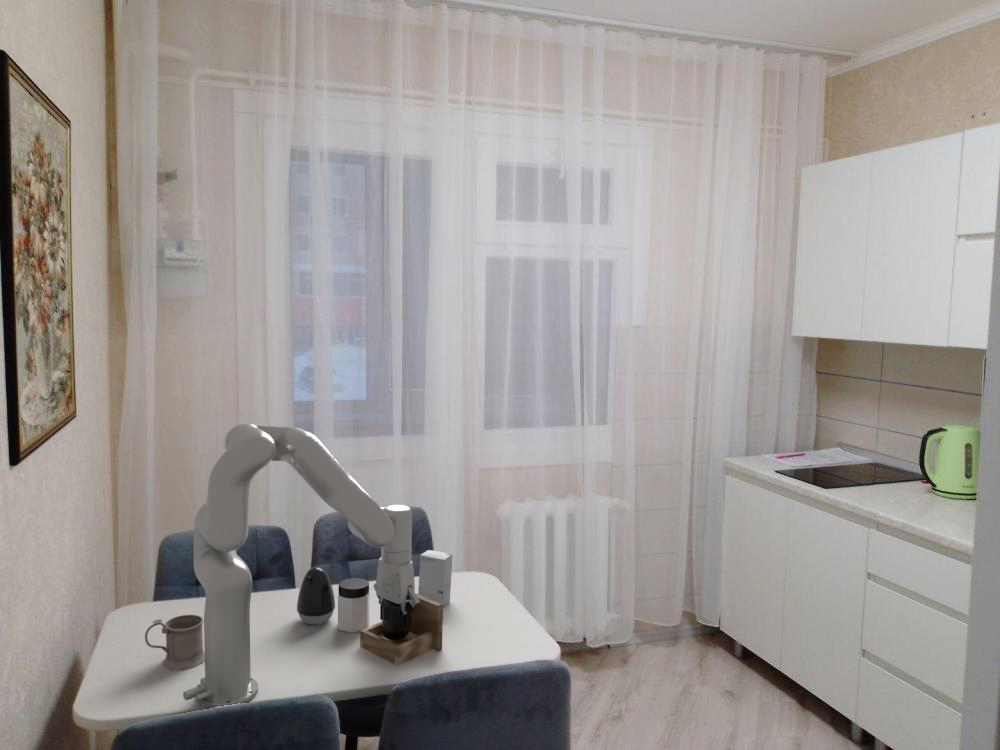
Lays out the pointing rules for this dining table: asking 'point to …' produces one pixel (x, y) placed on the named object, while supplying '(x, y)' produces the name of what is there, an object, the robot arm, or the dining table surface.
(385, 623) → the supplement bottle
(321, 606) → the black aroma diffuser
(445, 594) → the skincare box
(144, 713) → the dining table surface
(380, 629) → the brown open boxy piece
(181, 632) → the mug
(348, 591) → the jar
